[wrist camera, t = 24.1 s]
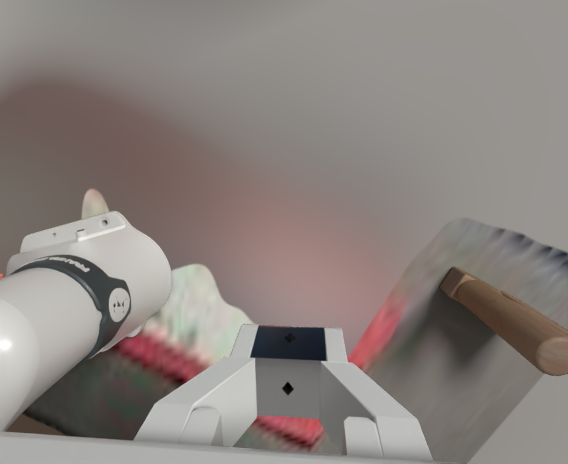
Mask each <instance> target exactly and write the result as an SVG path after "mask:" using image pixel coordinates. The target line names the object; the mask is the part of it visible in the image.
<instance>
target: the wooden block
mask: <svg viewBox="0 0 568 464" xmlns="http://www.w3.org/2000/svg"><path fill="white" fill-rule="evenodd" d="M440 289H441V290H442V291H444V292H445V293H446V294H447V295H448V296H449V297H450V298H452V299H454V300H456V301H458V302H460V303H462V304H463V305H464V306H466V307H467V308H468V309H469V310H470V311H471V312H473V313H474V314H475V315H476V316H477V317H478V318H479V319H481V320H482V321H483V322H484V323H485V324H486V325H488V326H489V327H490V328H491V329H492V330H493V331H495V332H496V333H497V334H498V335H499V336H500V337H502V338H503V339H504V340H505V341H506V342H507V343H508V344H510V345H511V346H512V347H513V348H514V349H515V350H517V351H518V352H519V353H520V354H521V355H522V356H524V357H525V358H526V359H527V360H528V361H529V362H530V363H532V364H533V365H534V366H535V367H536V368H537V369H539V370H540V371H541V372H543V373H546V374H549V375H552V376H561V375H565V374H568V330H567V329H565V328H564V327H562V326H560V325H559V324H558V323H556V322H554V321H553V320H551V319H549V318H548V317H546V316H545V315H543V314H541V313H540V312H538V311H536V310H535V309H533V308H531V307H530V306H528V305H527V304H525V303H523V302H522V301H520V300H518V299H516V298H514V297H512V296H510V295H508V294H506V293H505V292H503V291H498V290H497V289H495V288H494V287H492V286H491V285H489V284H487V283H485V282H484V281H482V280H480V279H478V278H476V277H474V276H472V275H470V274H468V273H466V272H464V271H463V270H461V269H459V268H457V267H453V268H452V269H451V270H450V272H449V273H448V275H447V276H446V278H445V280H444V281H443V283H442V284H441V286H440Z"/></svg>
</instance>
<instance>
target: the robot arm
mask: <svg viewBox="0 0 568 464" xmlns="http://www.w3.org/2000/svg"><path fill="white" fill-rule="evenodd" d="M105 220H107V222H108V224H106V223H105ZM171 284H172V276H171V270H170V266H169V263H168V260H167V258H166V256H165V255H164V253H163V251H162V250H161V248H160V247H159V246H158V245H157V244H156V243H155V242H154V241H153V240H152V239H151V238H149V237H148V236H146V235H145V234H143V233H142V232H140V231H138V230H136V229H135V228H133V227H132V226H131V225H130V223H129V222H128V221H127V220H126V218H125V217H124V216H123V215H122V214H120V213H119V212H117V211H112V212H108V213H104V214H101V215H97V216H93V217H90V218H86V219H83V220H79V221H75V222H72V223H68V224H65V225H61V226H57V227H54V228H50V229H46V230H43V231H40V232H36V233H33V234H30V235H27V236H26V237H25V238H24V240H23V242H22V245H21V250H20V253H19V254H16V255H13V256H12V257H11V258H10V260H9V262H8V264H7V269H6V277H3V274H0V464H465V463H450V462H436V461H433V459H432V456H431V454H430V451H429V449H428V446H427V443H426V441H425V438H424V435H423V433H422V430H421V428H420V425H419V422H418V420H417V419H416V418H415V417H414V416H413V415H412V414H411V413H409V412H408V411H407V410H406V409H405V408H404V407H403V406H401V405H400V404H399V403H398V402H397V401H396V400H395V399H393V398H392V397H391V396H390V395H389V394H388V393H387V392H385V391H384V390H383V389H382V388H381V387H380V386H379V385H377V384H376V383H375V382H374V381H373V380H372V379H371V378H369V377H368V376H367V375H366V374H365V373H364V372H363V371H361V370H360V369H359V368H358V367H357V366H356V365H355V364H353V363H348V362H347V356H346V350H345V345H344V339H343V333H342V329H341V328H340V327H324V328H323V327H322V328H321V327H320V328H319V327H291V326H274V325H258V324H243V325H242V326H241V328H240V331H239V333H238V336H237V339H236V341H235V344H234V347H233V350H232V352H231V355H230V357H224V358H222V359H221V360H219V361H218V362H216V363H215V364H213V365H212V366H210V367H209V368H207V369H206V370H204V371H203V372H201V373H200V374H198V375H197V376H195V377H194V378H192V379H191V380H189V381H188V382H186V383H185V384H183V385H182V386H180V387H179V388H177V389H176V390H174V391H173V392H171V393H170V394H168V395H167V396H165V397H164V398H162V399H161V400H159V401H158V402H156V403H155V404H154V406H153V408H152V409H151V411H150V413H149V415H148V416H147V418H146V420H145V421H144V423H143V425H142V426H141V428H140V430H139V432H138V433H137V435H136V437H135V438H134V440H133V441H131V440H117V439H103V438H88V437H74V436H59V435H45V434H30V433H16V432H5V431H6V430H7V429H8V428H9V427H10V426H11V425H12V424H13V422H14V421H15V420H16V419H17V418H18V417H19V416H20V415H21V414H22V413H23V412H24V411H25V410H26V409H27V408H28V407H29V406H30V405H31V404H32V403H33V402H34V401H35V400H36V399H38V398H39V397H40V396H41V395H42V394H43V393H44V392H46V391H47V390H48V389H49V388H50V387H51V386H52V385H54V384H55V383H56V382H57V381H58V380H59V379H60V378H62V377H63V376H64V375H65V374H66V373H67V372H69V371H70V370H71V369H72V368H73V367H75V366H78V365H80V364H82V363H84V362H86V361H87V360H89V359H90V358H92V357H94V356H95V355H96V354H98V353H99V352H103V351H106V350H108V349H109V348H110V347H112V346H113V345H115V344H116V343H118V342H119V341H120V340H122V339H123V338H124V337H134V336H136V335H137V334H139V333H140V332H141V330H142V329H143V327H144V325H145V323H146V321H147V320H148V319H149V318H150V317H151V316H152V315H154V314H155V313H156V312H158V311H159V310H160V309H161V308H162V306H163V305H164V304H165V302H166V301H167V299H168V296H169V294H170V290H171ZM257 415H261V416H290V417H301V418H312V419H319V421H320V423H321V424H322V426H323V428H324V429H325V431H326V432H327V434H328V435H329V437H330V439H331V440H332V442H333V443H334V445H335V446H336V448H337V450H338V451H339V453H340V454H341V455H335V454H321V453H306V452H291V451H276V450H261V449H247V448H232V446H233V445H234V444H235V443H236V442H237V440H238V439H239V438H240V437H241V436H242V435H243V433H244V432H245V431H246V430H247V429H248V427H249V426H250V425H251V424H252V423H253V421H254V420H255V419H256V418H257Z"/></svg>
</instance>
